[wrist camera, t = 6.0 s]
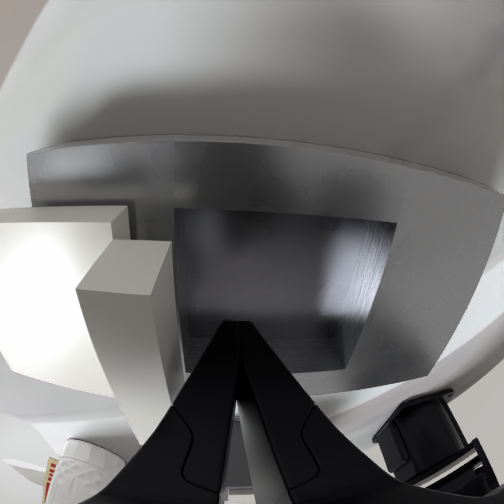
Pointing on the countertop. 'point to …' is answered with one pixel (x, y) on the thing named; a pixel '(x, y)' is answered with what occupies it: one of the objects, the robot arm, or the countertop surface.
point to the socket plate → (294, 244)
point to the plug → (238, 471)
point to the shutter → (91, 307)
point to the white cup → (82, 472)
